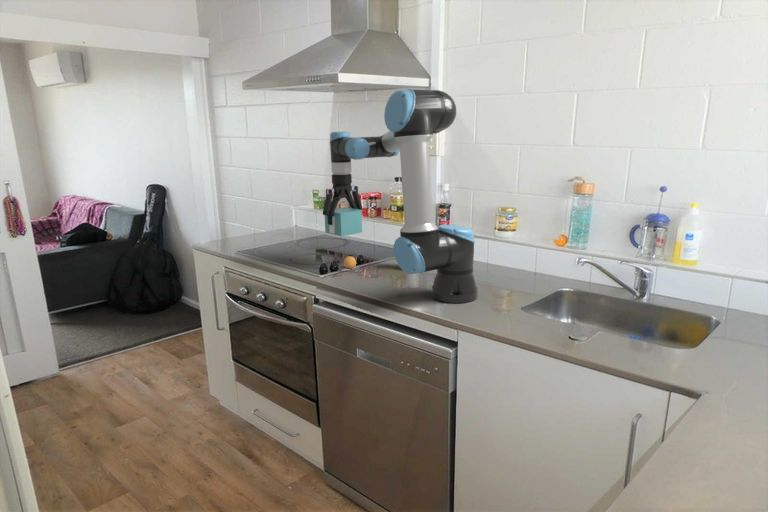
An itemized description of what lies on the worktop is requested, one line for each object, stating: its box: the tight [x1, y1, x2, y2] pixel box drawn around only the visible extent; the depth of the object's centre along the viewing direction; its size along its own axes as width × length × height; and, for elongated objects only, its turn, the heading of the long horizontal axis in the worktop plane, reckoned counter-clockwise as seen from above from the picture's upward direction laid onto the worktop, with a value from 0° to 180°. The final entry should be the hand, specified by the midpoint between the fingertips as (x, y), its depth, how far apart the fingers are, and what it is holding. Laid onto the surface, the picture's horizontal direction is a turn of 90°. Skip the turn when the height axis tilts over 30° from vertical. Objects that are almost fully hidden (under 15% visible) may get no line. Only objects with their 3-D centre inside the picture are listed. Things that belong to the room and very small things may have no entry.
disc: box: [337, 262, 361, 272], centre depth 206 cm, size 12×12×1 cm
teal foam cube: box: [324, 206, 363, 237], centre depth 202 cm, size 10×10×9 cm
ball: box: [342, 255, 357, 269], centre depth 203 cm, size 5×5×5 cm
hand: (343, 230), depth 202 cm, fingers closed on teal foam cube, 10 cm apart
